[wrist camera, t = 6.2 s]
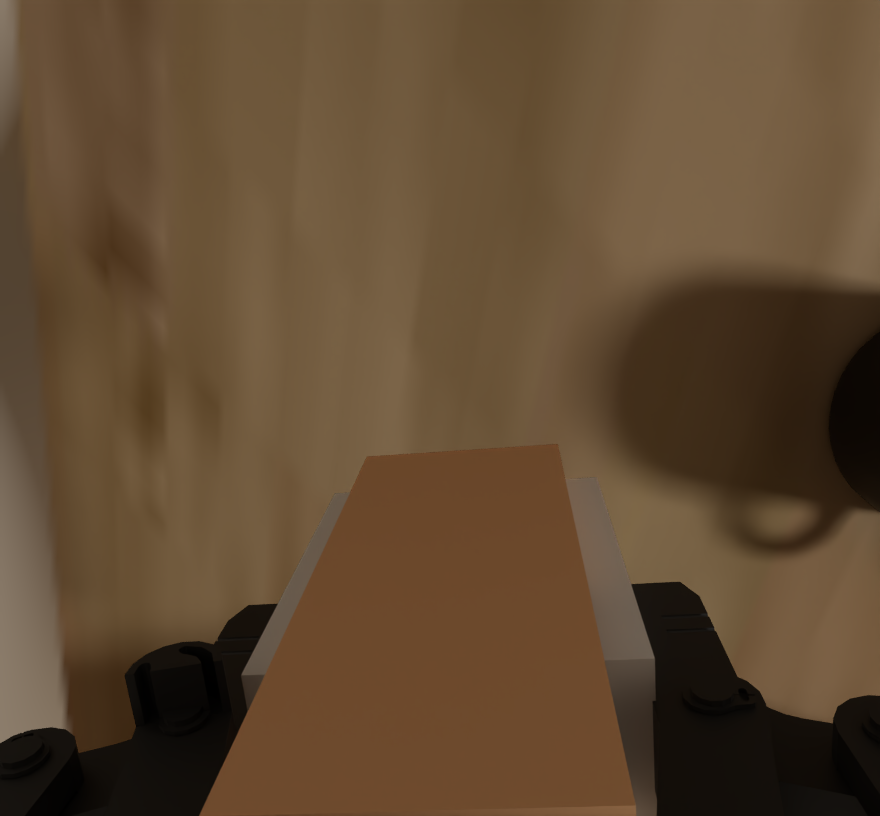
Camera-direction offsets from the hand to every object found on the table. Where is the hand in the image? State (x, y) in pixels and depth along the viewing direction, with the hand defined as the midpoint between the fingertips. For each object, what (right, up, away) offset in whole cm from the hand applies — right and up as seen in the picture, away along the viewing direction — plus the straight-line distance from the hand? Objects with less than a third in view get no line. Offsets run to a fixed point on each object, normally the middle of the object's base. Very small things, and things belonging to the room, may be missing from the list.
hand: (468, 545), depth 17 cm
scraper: (+1, -6, +2) cm, 6 cm away
